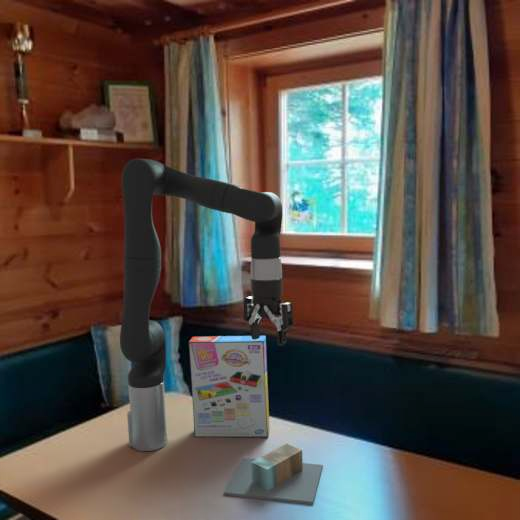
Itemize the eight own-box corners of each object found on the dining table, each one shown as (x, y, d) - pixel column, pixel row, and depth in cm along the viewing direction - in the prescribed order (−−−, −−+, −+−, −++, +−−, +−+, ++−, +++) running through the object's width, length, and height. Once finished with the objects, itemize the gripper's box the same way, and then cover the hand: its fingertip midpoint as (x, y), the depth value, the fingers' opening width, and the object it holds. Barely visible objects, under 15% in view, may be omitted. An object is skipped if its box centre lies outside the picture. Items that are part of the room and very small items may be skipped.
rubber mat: (223, 494, 124) (223, 492, 123) (242, 459, 139) (242, 457, 139) (313, 504, 119) (313, 501, 119) (322, 467, 134) (322, 464, 134)
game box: (270, 429, 156) (267, 335, 152) (268, 438, 150) (265, 340, 147) (197, 428, 158) (192, 335, 154) (193, 437, 152) (188, 341, 149)
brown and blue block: (302, 450, 131) (267, 469, 123) (302, 469, 132) (267, 490, 124) (286, 443, 135) (251, 462, 126) (286, 463, 135) (252, 482, 127)
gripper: (234, 275, 135) (237, 340, 137) (278, 281, 125) (280, 351, 128) (256, 271, 140) (258, 333, 143) (299, 276, 131) (300, 343, 133)
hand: (268, 341), depth 135 cm, fingers open, 8 cm apart
